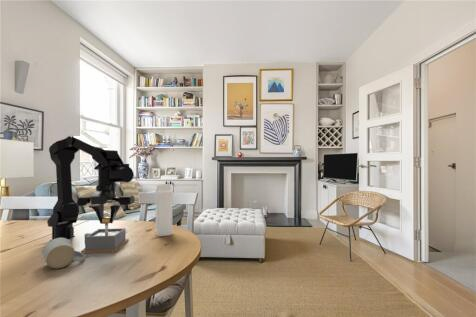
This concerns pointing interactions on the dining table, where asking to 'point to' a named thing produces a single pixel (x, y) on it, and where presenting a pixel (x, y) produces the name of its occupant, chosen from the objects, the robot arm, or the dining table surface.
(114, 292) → the dining table surface
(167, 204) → the milk
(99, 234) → the plunger
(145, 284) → the dining table surface
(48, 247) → the ceramic mug
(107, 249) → the grey square tray
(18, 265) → the dining table surface
